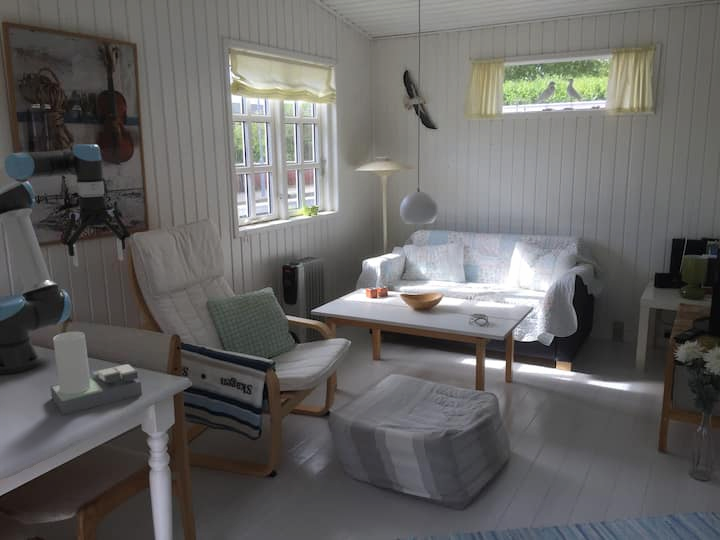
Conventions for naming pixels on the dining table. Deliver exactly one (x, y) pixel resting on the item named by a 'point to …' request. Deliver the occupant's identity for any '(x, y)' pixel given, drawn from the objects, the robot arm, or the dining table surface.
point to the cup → (72, 362)
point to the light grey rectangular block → (109, 375)
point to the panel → (99, 391)
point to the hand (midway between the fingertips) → (98, 262)
